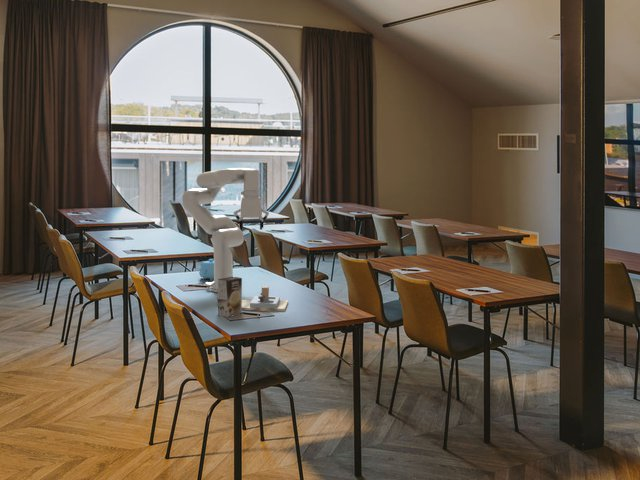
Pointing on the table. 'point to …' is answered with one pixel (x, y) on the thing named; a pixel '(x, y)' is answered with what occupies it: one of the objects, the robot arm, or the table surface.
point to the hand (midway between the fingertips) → (251, 229)
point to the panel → (265, 300)
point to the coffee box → (229, 296)
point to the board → (280, 307)
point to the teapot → (207, 269)
